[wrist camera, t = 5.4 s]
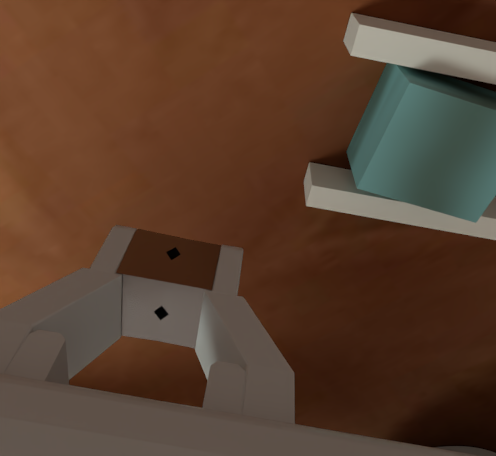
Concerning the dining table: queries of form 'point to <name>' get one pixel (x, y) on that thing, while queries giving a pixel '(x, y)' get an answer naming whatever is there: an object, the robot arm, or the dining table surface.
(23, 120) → the dining table surface
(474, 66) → the chute
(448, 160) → the teal block
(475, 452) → the decorative bowl
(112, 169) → the dining table surface
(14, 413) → the robot arm
